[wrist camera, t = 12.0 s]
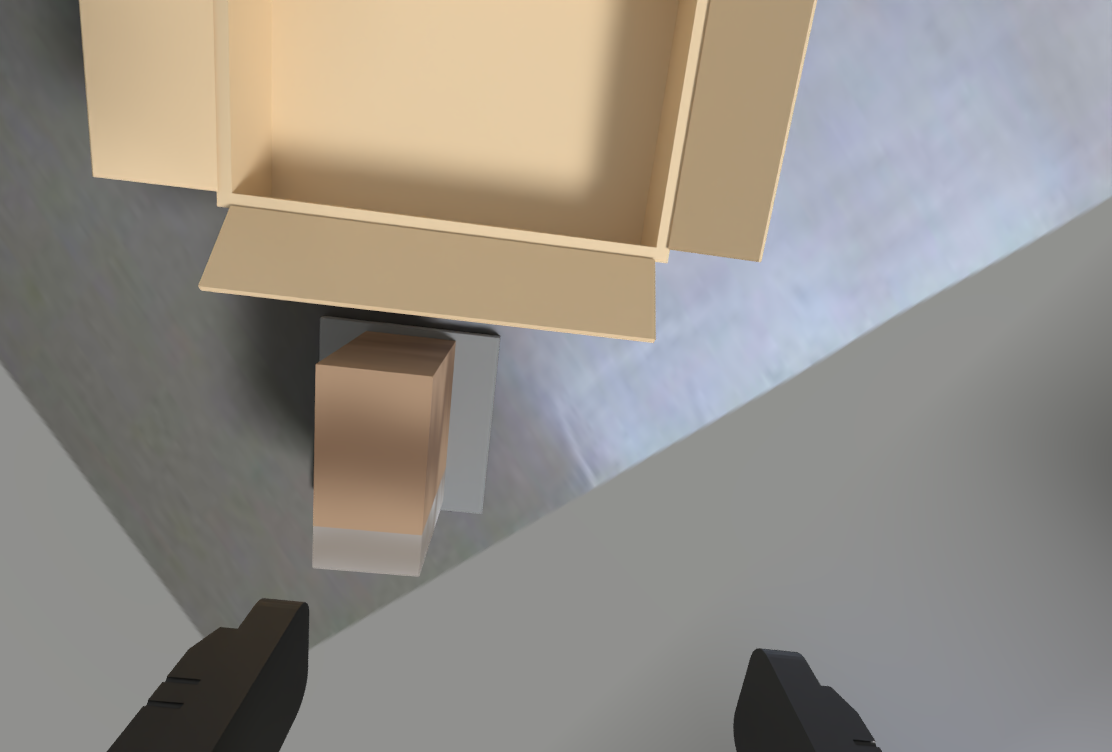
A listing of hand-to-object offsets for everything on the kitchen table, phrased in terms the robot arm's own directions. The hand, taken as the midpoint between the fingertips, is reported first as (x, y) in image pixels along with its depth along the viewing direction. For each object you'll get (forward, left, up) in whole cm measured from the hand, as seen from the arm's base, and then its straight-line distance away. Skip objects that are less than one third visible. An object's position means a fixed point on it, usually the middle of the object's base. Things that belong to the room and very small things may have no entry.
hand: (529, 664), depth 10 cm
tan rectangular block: (+3, -6, -20) cm, 21 cm away
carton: (-14, -4, -21) cm, 25 cm away
